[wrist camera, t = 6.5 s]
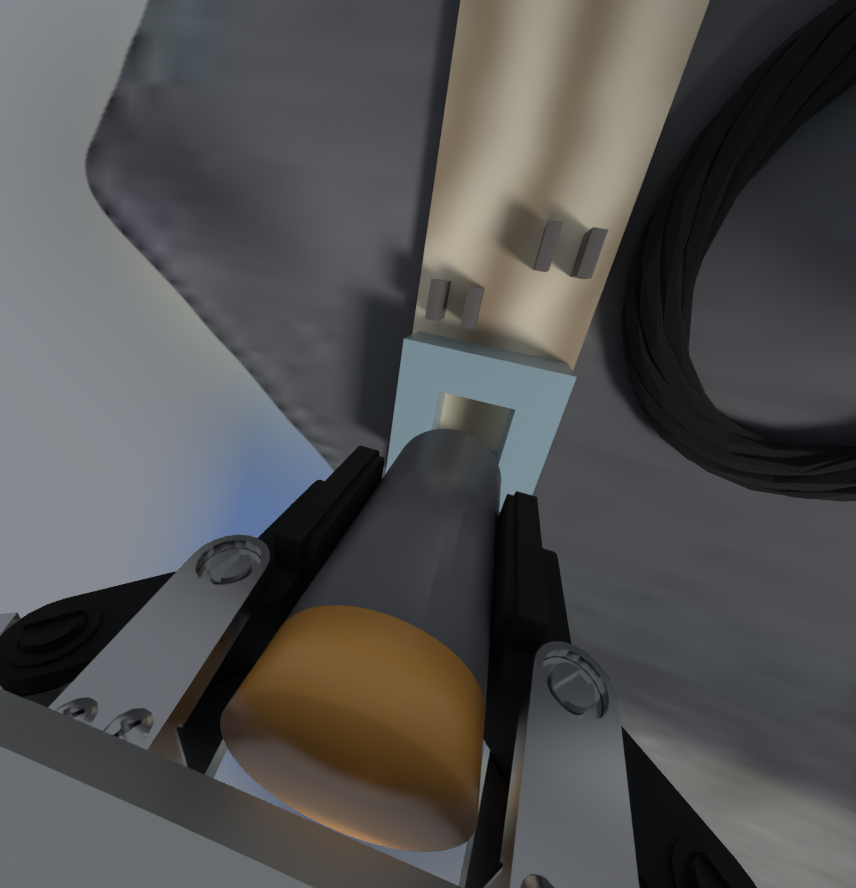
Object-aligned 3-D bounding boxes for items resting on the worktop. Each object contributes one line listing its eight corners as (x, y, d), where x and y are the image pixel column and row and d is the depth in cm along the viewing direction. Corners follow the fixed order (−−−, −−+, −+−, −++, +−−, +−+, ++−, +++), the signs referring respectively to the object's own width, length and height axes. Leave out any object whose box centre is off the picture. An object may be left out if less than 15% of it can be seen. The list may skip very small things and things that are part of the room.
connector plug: (515, 446, 11) (517, 772, 3) (484, 534, 12) (442, 877, 5) (405, 416, 11) (207, 652, 4) (389, 504, 13) (229, 784, 6)
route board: (756, -143, 15) (830, -274, 11) (519, 506, 31) (519, 535, 28) (488, -151, 17) (480, -269, 13) (395, 472, 33) (380, 495, 29)
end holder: (567, 363, 24) (576, 376, 21) (522, 490, 29) (523, 518, 26) (419, 331, 26) (403, 338, 22) (399, 457, 31) (384, 479, 27)
